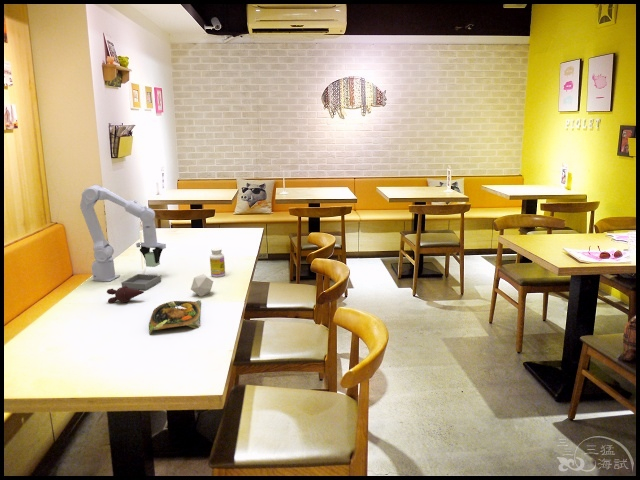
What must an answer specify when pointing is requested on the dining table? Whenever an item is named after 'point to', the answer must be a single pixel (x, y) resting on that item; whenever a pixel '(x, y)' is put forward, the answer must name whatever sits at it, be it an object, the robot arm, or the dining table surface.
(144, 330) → the dining table surface
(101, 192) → the robot arm
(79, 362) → the dining table surface
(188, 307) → the prepared meal
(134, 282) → the gray tray
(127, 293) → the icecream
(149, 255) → the mint block
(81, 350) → the dining table surface
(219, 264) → the supplement bottle
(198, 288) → the die
